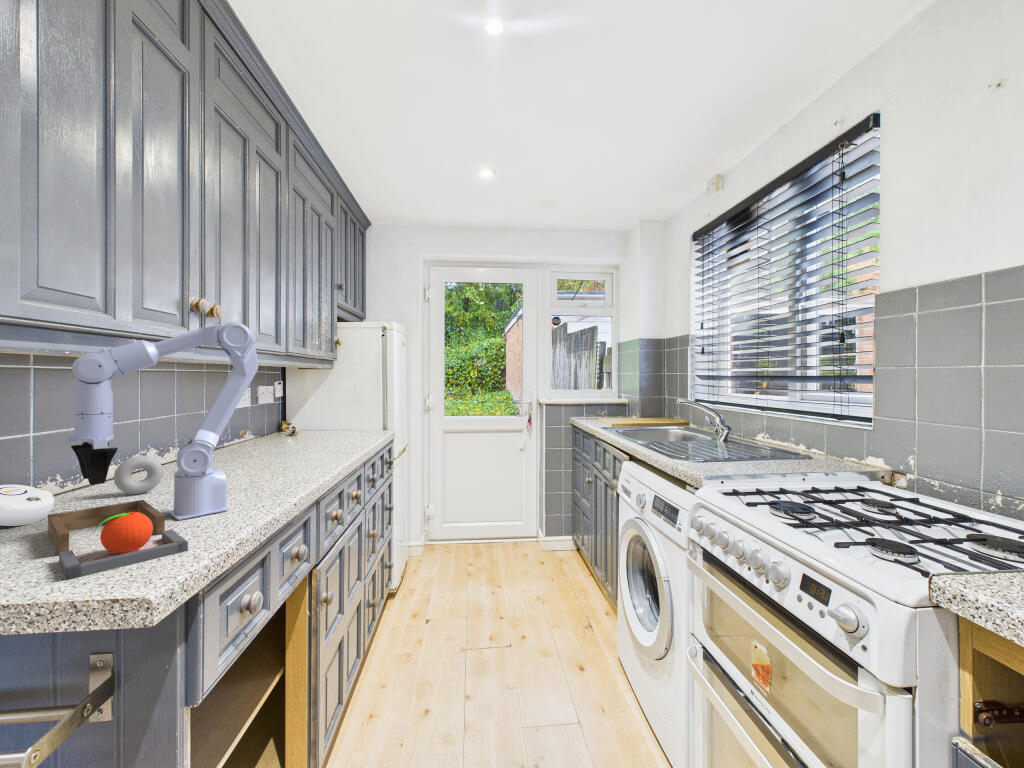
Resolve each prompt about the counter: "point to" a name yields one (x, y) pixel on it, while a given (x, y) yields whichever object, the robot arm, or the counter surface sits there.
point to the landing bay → (122, 557)
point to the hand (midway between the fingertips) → (93, 480)
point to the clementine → (126, 532)
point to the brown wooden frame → (97, 520)
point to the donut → (128, 466)
